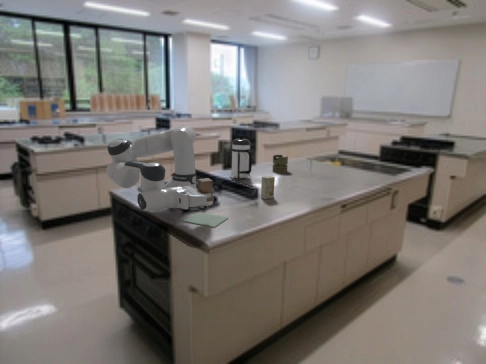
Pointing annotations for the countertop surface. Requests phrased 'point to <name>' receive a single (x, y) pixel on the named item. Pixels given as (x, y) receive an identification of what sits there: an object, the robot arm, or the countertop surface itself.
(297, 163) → the countertop surface
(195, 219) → the mat
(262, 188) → the skincare box
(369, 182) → the countertop surface
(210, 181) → the block
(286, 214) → the countertop surface
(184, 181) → the robot arm
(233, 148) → the coffee press
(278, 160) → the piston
